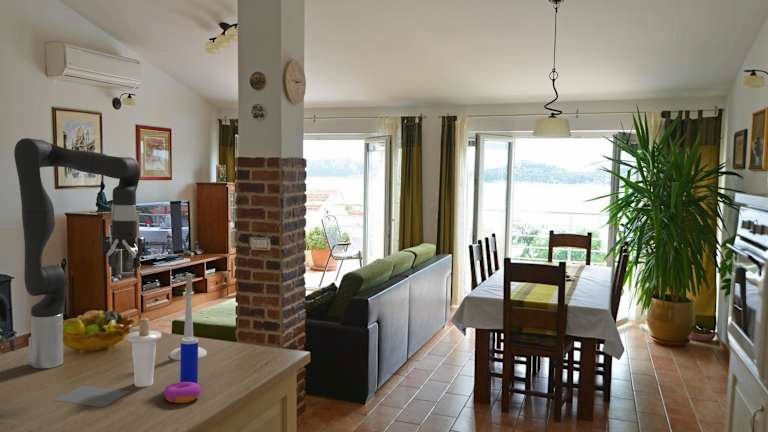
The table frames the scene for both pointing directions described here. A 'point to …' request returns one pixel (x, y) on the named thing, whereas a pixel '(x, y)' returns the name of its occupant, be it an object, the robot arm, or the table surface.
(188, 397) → the donut
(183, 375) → the beverage can
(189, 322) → the candlestick
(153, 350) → the drinking glass
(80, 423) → the table surface
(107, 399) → the mat
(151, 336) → the lid
